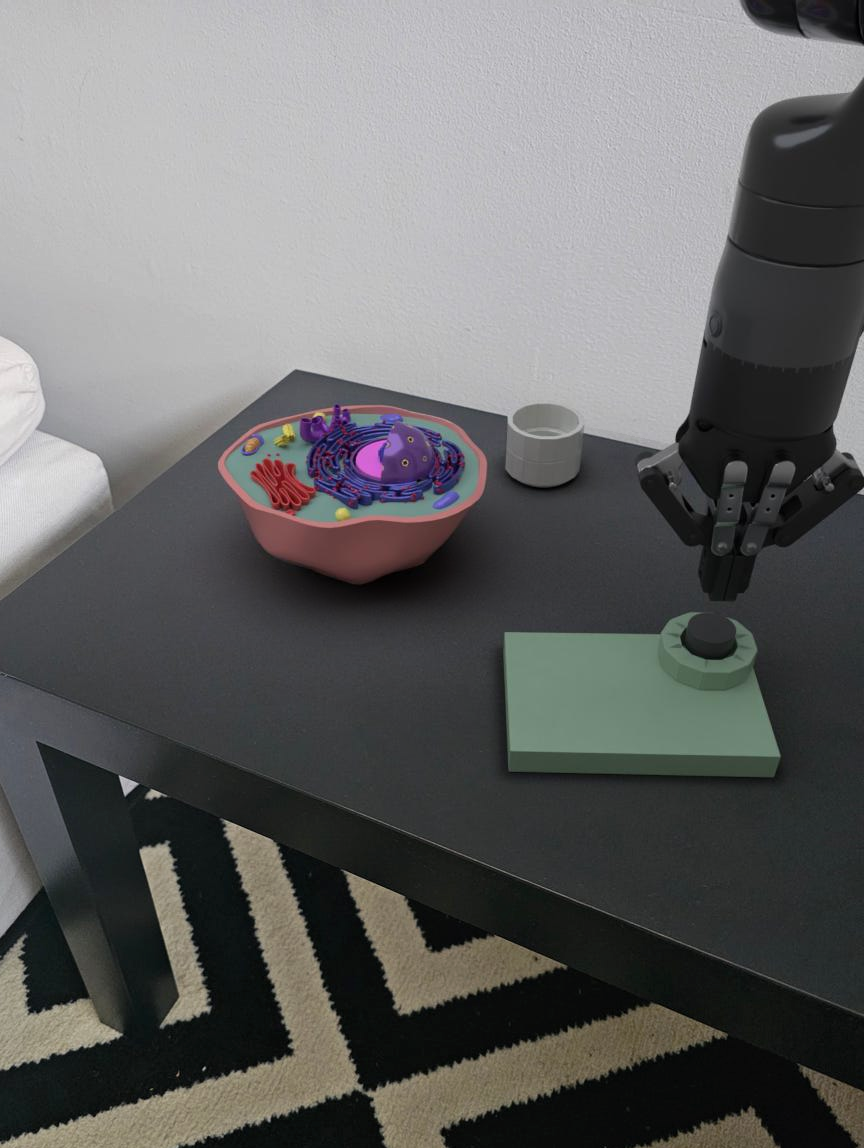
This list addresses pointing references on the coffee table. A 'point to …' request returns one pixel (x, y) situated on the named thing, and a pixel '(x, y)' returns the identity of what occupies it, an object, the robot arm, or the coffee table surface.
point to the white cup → (544, 443)
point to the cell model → (355, 487)
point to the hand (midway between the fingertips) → (719, 593)
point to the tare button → (710, 636)
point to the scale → (635, 705)
